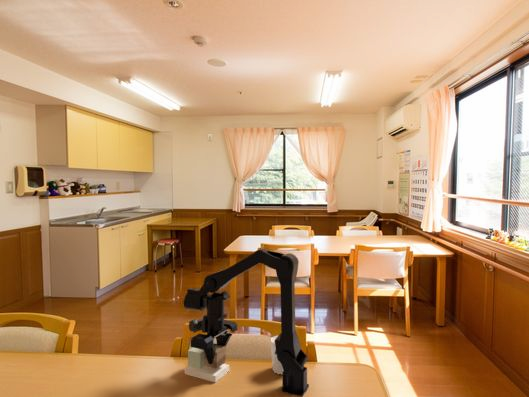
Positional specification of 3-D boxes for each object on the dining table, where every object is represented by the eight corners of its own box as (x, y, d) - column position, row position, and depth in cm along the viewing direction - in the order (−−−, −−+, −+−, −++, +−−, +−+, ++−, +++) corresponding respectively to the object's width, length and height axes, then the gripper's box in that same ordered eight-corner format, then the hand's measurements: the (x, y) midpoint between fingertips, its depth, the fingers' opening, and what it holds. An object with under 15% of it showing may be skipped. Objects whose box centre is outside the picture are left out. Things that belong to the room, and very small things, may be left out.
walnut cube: (225, 362, 107) (225, 346, 107) (216, 368, 103) (217, 352, 103) (212, 358, 109) (213, 343, 110) (203, 365, 105) (204, 349, 105)
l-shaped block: (229, 371, 108) (229, 349, 109) (215, 382, 101) (215, 359, 101) (199, 363, 114) (200, 343, 114) (184, 373, 106) (184, 352, 107)
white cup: (294, 365, 113) (294, 335, 113) (294, 376, 105) (294, 345, 105) (271, 364, 113) (271, 334, 114) (269, 375, 106) (269, 344, 106)
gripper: (211, 301, 119) (211, 345, 118) (176, 316, 102) (176, 367, 101) (238, 305, 114) (238, 351, 113) (205, 322, 97) (205, 375, 96)
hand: (215, 360), depth 106 cm, fingers closed on walnut cube, 5 cm apart
